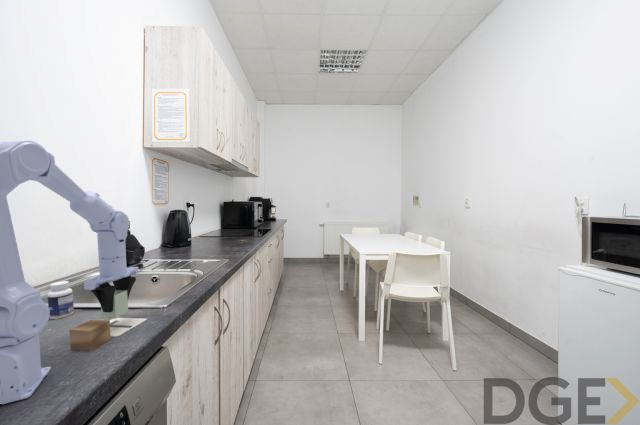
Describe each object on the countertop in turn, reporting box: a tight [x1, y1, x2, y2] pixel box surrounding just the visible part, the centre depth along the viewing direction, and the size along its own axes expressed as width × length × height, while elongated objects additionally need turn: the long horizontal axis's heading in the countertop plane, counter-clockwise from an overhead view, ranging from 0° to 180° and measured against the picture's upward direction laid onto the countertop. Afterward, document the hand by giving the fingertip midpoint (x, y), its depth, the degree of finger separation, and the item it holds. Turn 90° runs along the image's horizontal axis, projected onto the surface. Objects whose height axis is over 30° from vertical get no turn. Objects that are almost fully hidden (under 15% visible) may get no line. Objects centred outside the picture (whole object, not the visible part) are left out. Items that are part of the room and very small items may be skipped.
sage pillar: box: [100, 290, 129, 320], centre depth 73 cm, size 4×4×6 cm
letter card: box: [109, 317, 148, 337], centre depth 73 cm, size 10×10×1 cm
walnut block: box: [69, 319, 112, 352], centre depth 64 cm, size 5×5×5 cm
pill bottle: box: [47, 280, 75, 320], centre depth 81 cm, size 5×5×10 cm
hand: (115, 308), depth 73 cm, fingers closed on sage pillar, 4 cm apart
